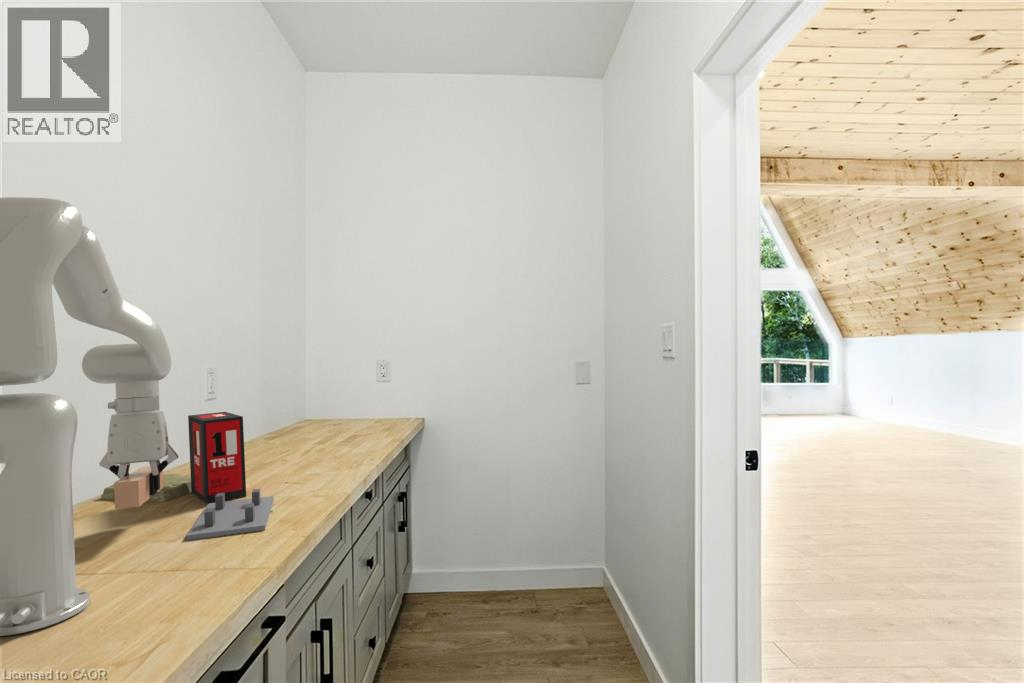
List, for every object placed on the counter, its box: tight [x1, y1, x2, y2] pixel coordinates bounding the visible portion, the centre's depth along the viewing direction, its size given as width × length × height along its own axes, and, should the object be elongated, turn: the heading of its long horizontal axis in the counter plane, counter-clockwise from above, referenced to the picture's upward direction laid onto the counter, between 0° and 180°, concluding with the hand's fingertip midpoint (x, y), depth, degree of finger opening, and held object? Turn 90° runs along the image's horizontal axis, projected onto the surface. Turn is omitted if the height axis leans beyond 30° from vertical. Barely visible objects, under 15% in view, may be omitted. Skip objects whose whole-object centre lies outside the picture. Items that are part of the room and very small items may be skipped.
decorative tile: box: [100, 473, 192, 503], centre depth 153 cm, size 19×20×4 cm
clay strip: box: [113, 465, 164, 510], centre depth 119 cm, size 18×4×5 cm, turn 18°
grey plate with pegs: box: [186, 488, 274, 541], centre depth 126 cm, size 24×14×4 cm, turn 18°
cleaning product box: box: [187, 411, 247, 505], centre depth 148 cm, size 16×9×20 cm, turn 40°
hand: (140, 494), depth 119 cm, fingers closed on clay strip, 4 cm apart
